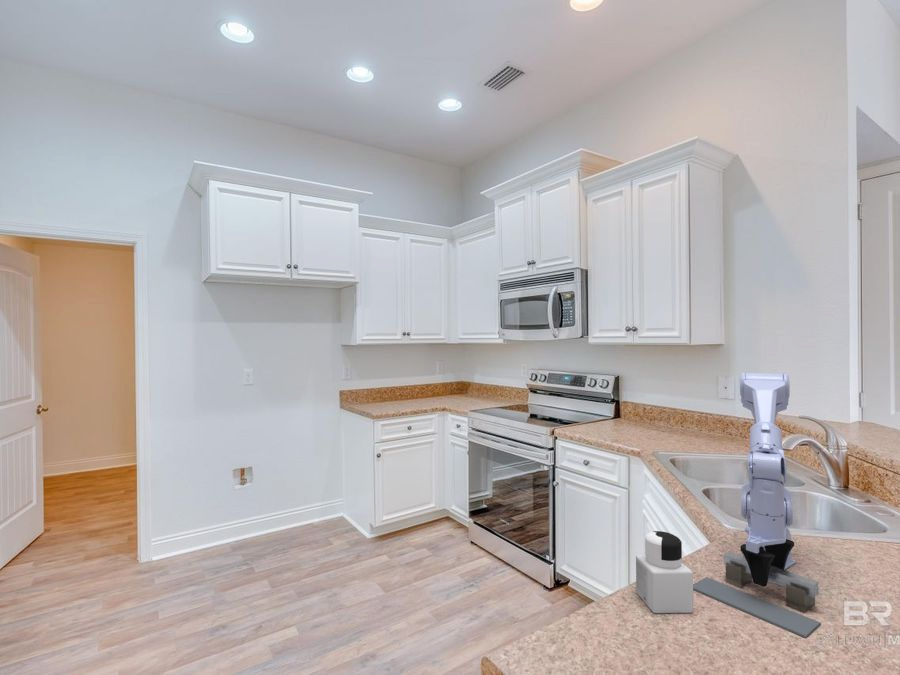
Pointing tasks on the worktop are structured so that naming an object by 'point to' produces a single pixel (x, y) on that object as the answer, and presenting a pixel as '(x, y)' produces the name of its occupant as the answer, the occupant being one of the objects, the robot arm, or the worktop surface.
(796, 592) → the post
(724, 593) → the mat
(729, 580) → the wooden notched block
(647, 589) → the lidar sensor
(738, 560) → the rail
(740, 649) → the worktop surface
